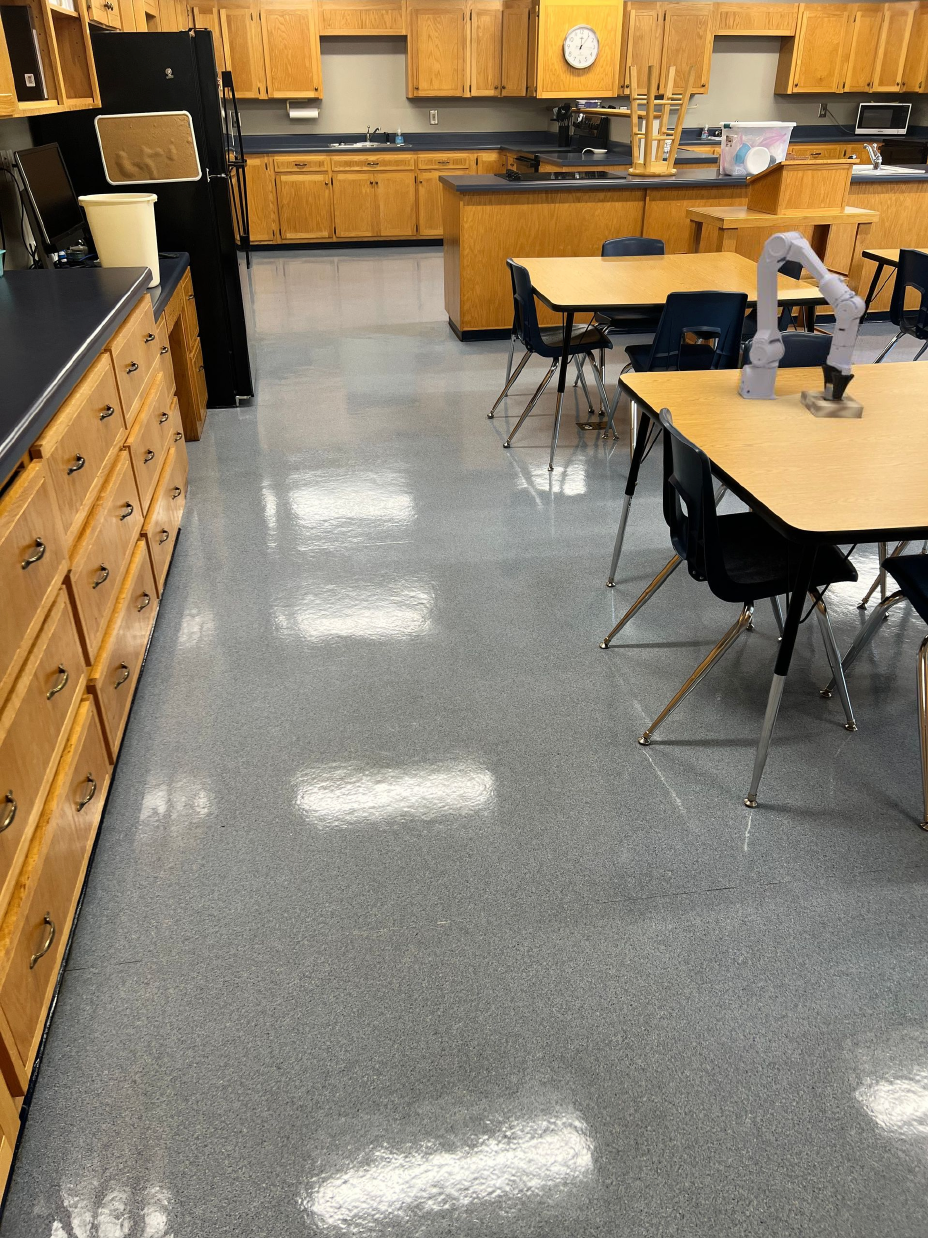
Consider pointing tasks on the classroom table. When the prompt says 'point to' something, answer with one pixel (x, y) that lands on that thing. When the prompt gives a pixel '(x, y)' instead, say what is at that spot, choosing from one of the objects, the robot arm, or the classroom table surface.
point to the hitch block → (831, 405)
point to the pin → (829, 392)
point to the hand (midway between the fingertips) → (832, 395)
